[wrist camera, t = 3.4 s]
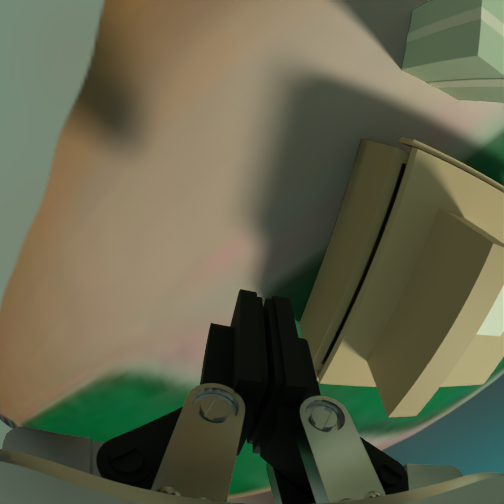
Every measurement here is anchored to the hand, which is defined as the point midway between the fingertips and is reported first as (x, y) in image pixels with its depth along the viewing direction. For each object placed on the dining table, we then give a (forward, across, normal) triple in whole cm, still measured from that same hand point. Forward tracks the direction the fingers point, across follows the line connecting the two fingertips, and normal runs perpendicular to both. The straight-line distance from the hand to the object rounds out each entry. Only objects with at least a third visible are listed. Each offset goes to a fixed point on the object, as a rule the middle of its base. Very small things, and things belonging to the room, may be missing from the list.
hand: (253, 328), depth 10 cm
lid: (+6, -14, 0) cm, 16 cm away
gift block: (+10, -9, -15) cm, 21 cm away
